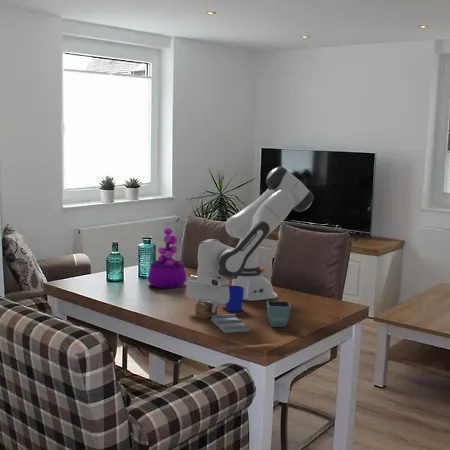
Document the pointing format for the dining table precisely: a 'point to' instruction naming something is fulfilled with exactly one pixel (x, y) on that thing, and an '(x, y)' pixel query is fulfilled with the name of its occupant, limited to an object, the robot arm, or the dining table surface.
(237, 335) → the dining table surface
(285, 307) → the flower pot
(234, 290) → the mug
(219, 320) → the grey ridged tray
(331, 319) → the dining table surface
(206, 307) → the brown block
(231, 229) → the robot arm
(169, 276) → the decorative plant
